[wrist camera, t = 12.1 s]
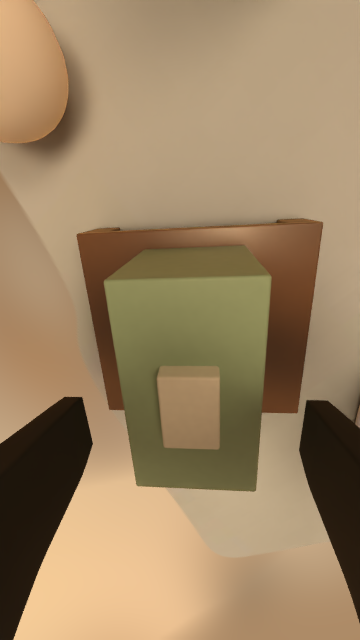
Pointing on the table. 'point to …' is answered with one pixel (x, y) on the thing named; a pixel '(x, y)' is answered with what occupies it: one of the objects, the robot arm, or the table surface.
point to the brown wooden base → (261, 240)
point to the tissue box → (192, 363)
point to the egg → (29, 74)
